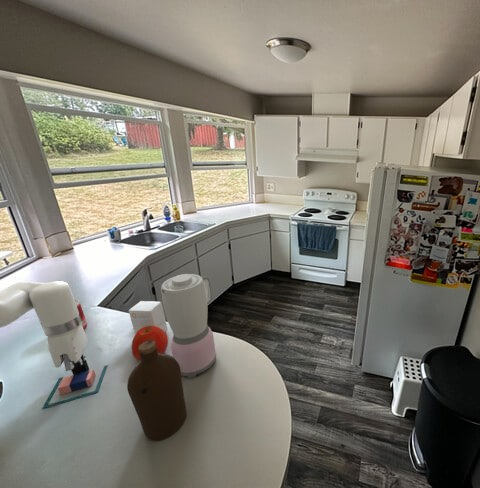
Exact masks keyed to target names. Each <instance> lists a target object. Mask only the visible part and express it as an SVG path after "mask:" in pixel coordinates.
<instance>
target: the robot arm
mask: <svg viewBox="0 0 480 488" xmlns="http://www.w3.org/2000/svg"><path fill="white" fill-rule="evenodd" d="M75 300H76V299H75V298H74V295H73V292H72V290H71V287H70V285H69V283H67V282H65V281H61V280H59V281H56V280H55V281H50V282H37V281H35V282H33V281H21V282H16V283H14V284H11V285H9V286H8V287H6V288H4V289H2V290H0V329H1V328H4V327H7V326H9V325H11V324H13V323H14V322H15V321H17V320H18V319H20V318H21V317H22V316H24V315H25V314H26V313H28V312H30V311H32V310H34V311H35V314H36V316H37V318H38V320H39V323H40V326H41V328H42V331H43V333H44V335H45V337H47V345H48V350H49V353H50V357H51V360H52V362H53V365H54V367H55V368H56V369H58V368H61V367H62V365H64V369H65V371H66V372H69V371H70V372H71V373H72V375H74V374H78V373H82V372H85V371H89V370H90V367H89V365H88V362H87V359H86V354H85V353H86V352H85V350H86V347H87V346H88V336H87V334H86V331H85V329H83V327H82V320H81V317H80V314H79V312H78V309H77V306H76V303H75Z"/></svg>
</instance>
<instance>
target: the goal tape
mask: <svg viewBox="0 0 480 488" xmlns="http://www.w3.org/2000/svg"><path fill="white" fill-rule="evenodd" d="M107 368H108V364H106V365H104V366H103V368H102V371H101V374H100V375H99V379H98V382H97V384H96V386H95V389H94V390H93V391H90V392H86V393H82V394H79V395H76V396H72V397H69V398H66V399H61V400H59V401H55V402H52V403H50V402H51V400H52V399H53V397H54V394H55V393H56V391H57V390H58V389H57V388H58V386H59V385H60V384H59V383H61V381H62V379H63V378H64V377H59V378H58V379H57V381H56V383H55V385H54V386H53V388H52V390H51V392H50V393H49V394H48V397H47V399H46V401H45V402H44V404H43V406H42V408H41V410H43V409H48V408H51V407H54V406H57V405H60V404H64V403H67V402H70V401H74V400H77V399H80V398H83V397H88V396H91V395H94V394H97V393H99V390H100V388H101V385H102V382H103V379H104V377H105V374H106V371H107Z"/></svg>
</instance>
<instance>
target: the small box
mask: <svg viewBox="0 0 480 488" xmlns="http://www.w3.org/2000/svg"><path fill="white" fill-rule="evenodd" d="M128 313H129V317H130V321H131V324H132V329H133V331H134V332H133V333H134V335H135V334H136V333H137V331H138V330H140V329H141V328H143V327H146V326H152V325H153V326H156V327H159V328H161V329H162V330H163V331H165V332H166V333H167V331H168V325H167V319H166V315H165V311H164V306H163V302H162V301H152V300H151V301H150V300H149V301H148V300H140V301H139V302H138V303H136V304H135V305H134V306H132V307H130V309H129V310H128Z"/></svg>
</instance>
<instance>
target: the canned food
mask: <svg viewBox="0 0 480 488" xmlns="http://www.w3.org/2000/svg"><path fill="white" fill-rule="evenodd" d="M74 300H75V303H76V306H77V309H78V312H79V314H80V317H81V320H82V327H83V329H84V330H85V329H86V328H87V326H88V322H87V319H86V316H85V314H84V310H83V306H82V304H81V302H80V300H79V299H74Z"/></svg>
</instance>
